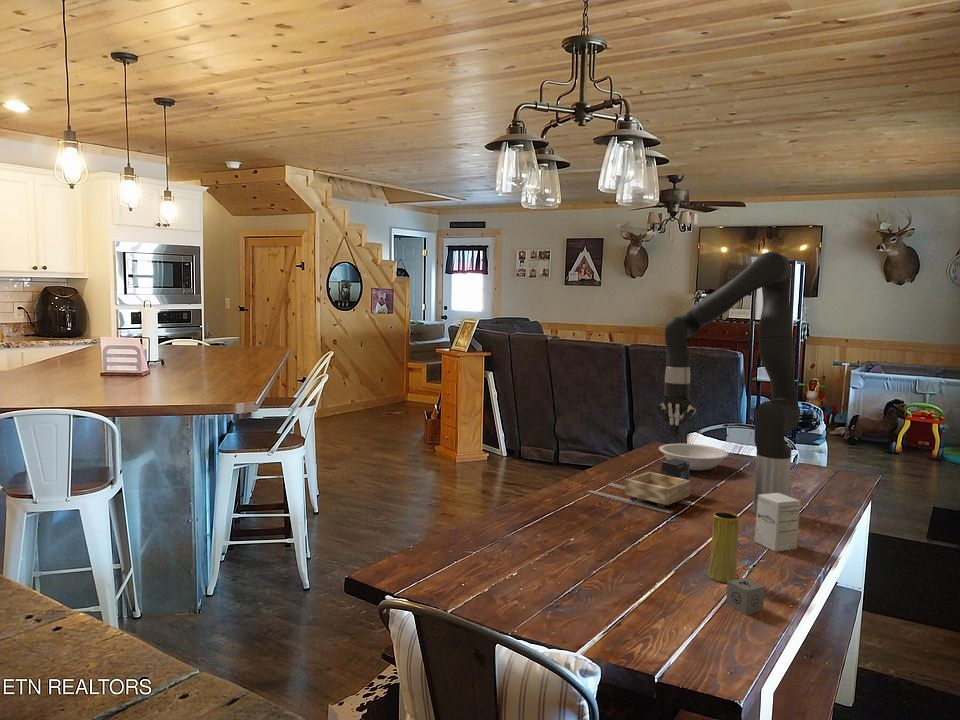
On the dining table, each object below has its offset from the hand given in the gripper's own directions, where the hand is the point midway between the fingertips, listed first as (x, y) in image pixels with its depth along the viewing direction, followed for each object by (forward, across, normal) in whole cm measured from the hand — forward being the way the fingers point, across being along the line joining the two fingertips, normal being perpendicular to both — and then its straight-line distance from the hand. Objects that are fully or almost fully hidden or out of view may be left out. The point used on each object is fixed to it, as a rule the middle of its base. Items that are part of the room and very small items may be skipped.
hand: (675, 436), depth 225 cm
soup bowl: (+18, +10, -37) cm, 43 cm away
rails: (+18, +6, +12) cm, 22 cm away
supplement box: (+20, -39, +24) cm, 50 cm away
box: (+19, 0, -1) cm, 19 cm away
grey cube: (+20, -47, +66) cm, 83 cm away
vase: (+20, -37, +54) cm, 68 cm away
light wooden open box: (+18, 0, +12) cm, 22 cm away
